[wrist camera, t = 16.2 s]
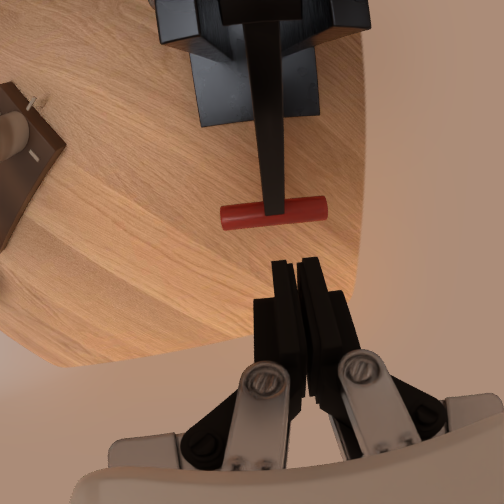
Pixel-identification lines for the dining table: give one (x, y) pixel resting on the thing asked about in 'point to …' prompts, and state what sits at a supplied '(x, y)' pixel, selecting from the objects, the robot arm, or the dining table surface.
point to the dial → (12, 134)
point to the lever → (267, 115)
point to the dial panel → (24, 161)
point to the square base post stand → (234, 54)
